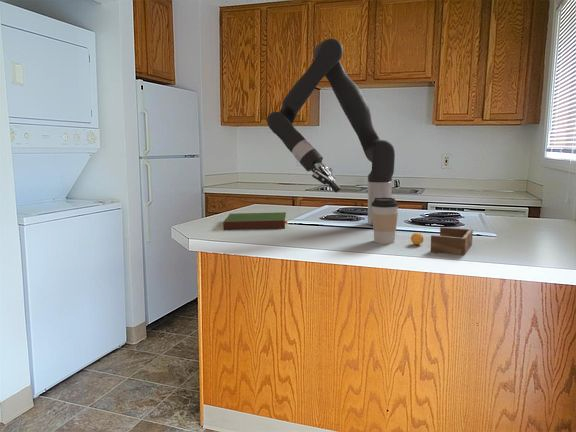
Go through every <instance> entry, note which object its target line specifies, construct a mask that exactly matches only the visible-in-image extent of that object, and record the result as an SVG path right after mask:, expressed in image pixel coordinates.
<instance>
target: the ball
mask: <svg viewBox="0 0 576 432" xmlns="http://www.w3.org/2000/svg"><path fill="white" fill-rule="evenodd" d="M410 242H411V243H413V244H414V245H416V246H418V245H421V244H422V243H423V242H424V236H423V234H422V233H420V232H414V233H413V234H411V237H410Z"/></svg>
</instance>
